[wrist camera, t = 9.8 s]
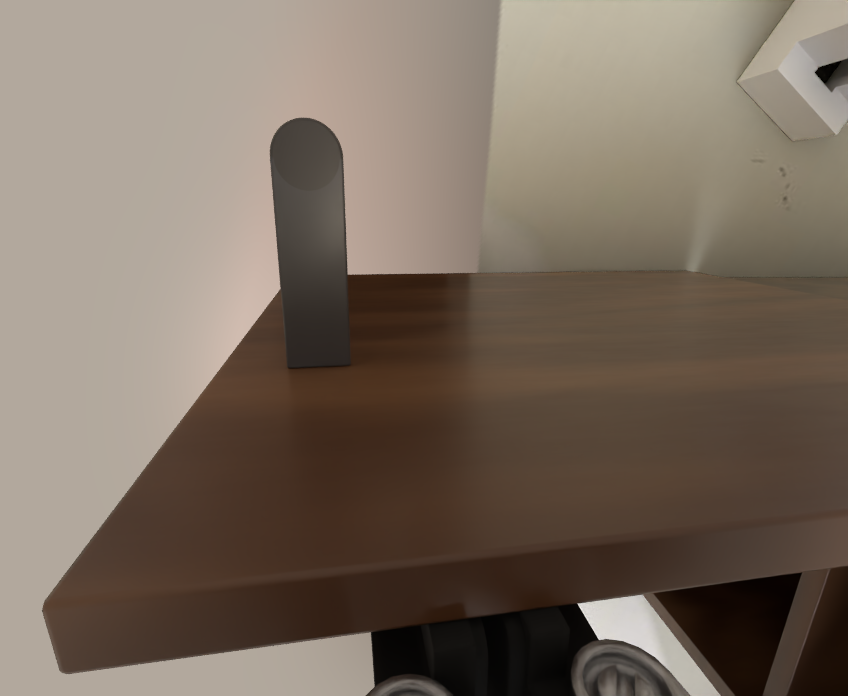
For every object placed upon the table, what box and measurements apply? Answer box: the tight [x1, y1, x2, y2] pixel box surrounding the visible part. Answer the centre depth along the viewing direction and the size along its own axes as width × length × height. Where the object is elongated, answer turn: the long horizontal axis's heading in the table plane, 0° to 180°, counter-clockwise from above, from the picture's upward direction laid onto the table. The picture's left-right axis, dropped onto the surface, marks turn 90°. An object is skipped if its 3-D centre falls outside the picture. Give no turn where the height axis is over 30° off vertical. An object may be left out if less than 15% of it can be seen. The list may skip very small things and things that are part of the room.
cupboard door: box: [42, 118, 848, 674], centre depth 17 cm, size 7×26×24 cm, turn 89°
